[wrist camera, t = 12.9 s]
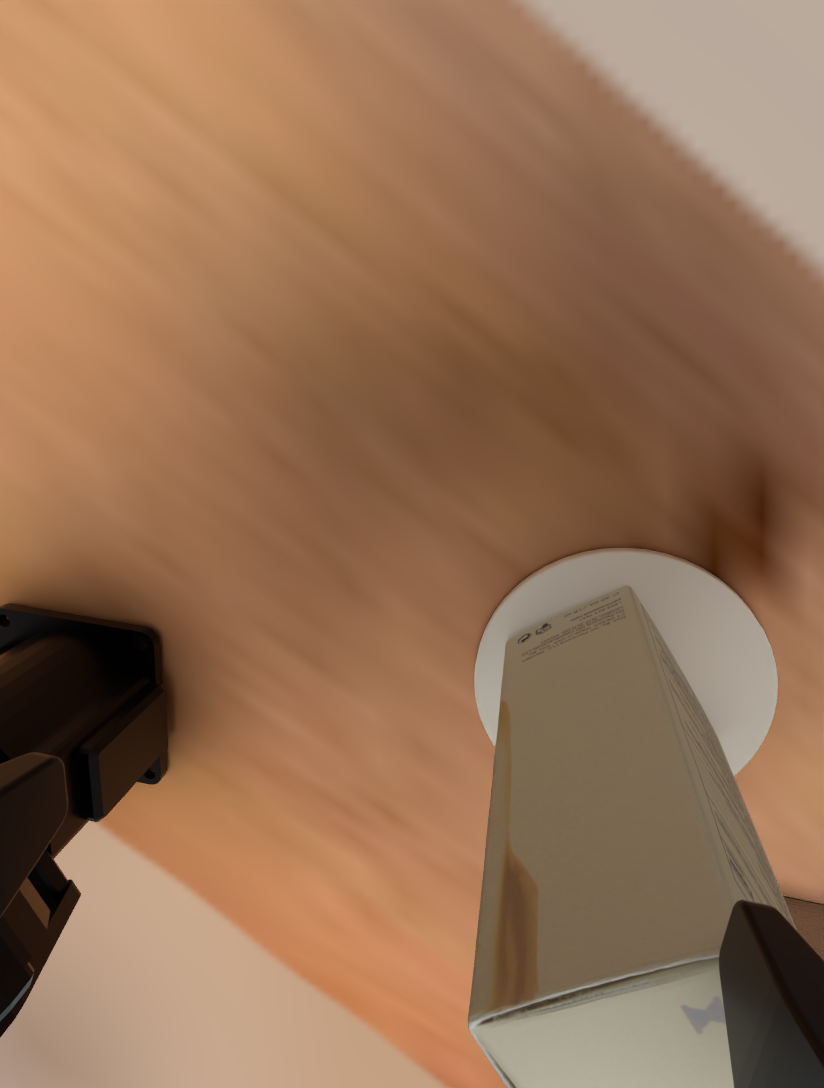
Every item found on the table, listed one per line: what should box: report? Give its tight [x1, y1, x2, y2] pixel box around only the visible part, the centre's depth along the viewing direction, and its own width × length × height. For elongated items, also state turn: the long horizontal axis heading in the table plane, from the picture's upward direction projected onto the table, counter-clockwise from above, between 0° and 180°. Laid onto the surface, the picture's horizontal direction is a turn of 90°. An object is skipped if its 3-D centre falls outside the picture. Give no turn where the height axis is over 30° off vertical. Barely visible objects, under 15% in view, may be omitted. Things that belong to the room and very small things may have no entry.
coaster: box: [474, 547, 778, 776], centre depth 21 cm, size 9×9×1 cm
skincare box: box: [468, 586, 797, 1088], centre depth 15 cm, size 6×4×12 cm
